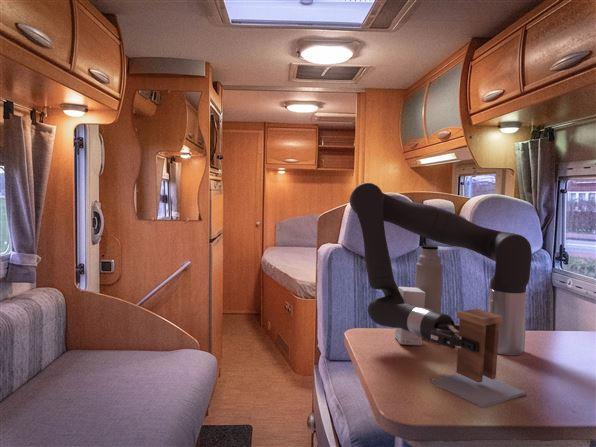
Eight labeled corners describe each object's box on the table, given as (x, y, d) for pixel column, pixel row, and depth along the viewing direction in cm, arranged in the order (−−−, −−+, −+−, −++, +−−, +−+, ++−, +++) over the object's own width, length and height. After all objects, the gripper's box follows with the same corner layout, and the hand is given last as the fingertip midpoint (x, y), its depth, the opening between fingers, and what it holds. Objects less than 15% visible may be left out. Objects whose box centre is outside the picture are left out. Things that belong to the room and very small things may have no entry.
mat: (472, 372, 110) (472, 369, 110) (525, 394, 98) (525, 391, 98) (430, 382, 103) (430, 379, 103) (482, 407, 91) (482, 405, 91)
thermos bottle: (438, 332, 143) (442, 244, 141) (441, 340, 135) (445, 247, 133) (412, 330, 144) (416, 243, 143) (413, 338, 136) (417, 246, 135)
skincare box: (421, 346, 129) (427, 292, 128) (398, 344, 129) (403, 290, 128) (414, 337, 137) (419, 287, 136) (392, 335, 137) (397, 285, 136)
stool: (472, 367, 105) (476, 308, 104) (498, 378, 99) (502, 316, 98) (453, 372, 102) (457, 311, 101) (478, 383, 96) (483, 319, 95)
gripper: (409, 313, 109) (466, 333, 94) (451, 307, 116) (510, 325, 101) (407, 343, 109) (464, 368, 95) (449, 336, 116) (507, 358, 102)
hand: (487, 345), depth 98 cm, fingers closed on stool, 5 cm apart
